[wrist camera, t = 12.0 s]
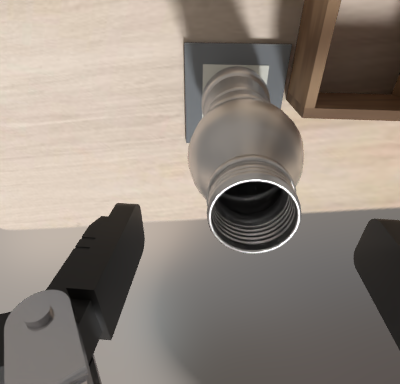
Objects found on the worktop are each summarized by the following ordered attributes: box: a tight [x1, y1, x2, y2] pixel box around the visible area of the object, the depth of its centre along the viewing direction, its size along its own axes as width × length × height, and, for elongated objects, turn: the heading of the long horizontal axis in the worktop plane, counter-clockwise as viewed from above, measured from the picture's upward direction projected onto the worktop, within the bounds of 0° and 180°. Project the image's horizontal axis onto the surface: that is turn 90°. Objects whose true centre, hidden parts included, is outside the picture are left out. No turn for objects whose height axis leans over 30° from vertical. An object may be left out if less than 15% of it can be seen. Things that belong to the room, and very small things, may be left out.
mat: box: [184, 43, 292, 143], centre depth 27 cm, size 10×10×1 cm
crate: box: [286, 0, 400, 121], centre depth 21 cm, size 11×11×6 cm
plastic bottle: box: [188, 66, 304, 253], centre depth 18 cm, size 6×7×20 cm
